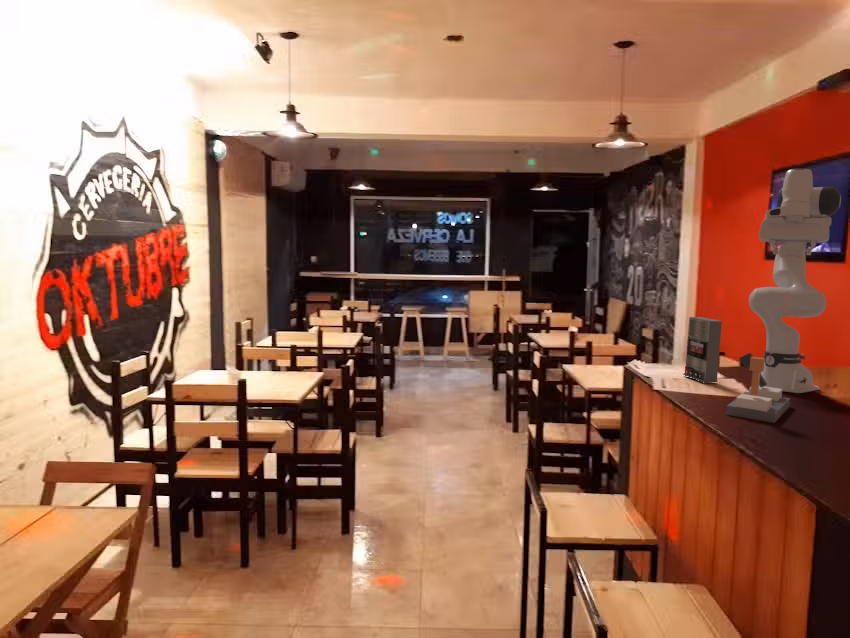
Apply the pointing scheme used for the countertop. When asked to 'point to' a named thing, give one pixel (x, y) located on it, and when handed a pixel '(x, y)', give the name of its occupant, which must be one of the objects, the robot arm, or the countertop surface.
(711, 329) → the cassette tape recorder
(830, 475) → the countertop surface
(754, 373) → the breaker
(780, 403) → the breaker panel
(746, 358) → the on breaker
